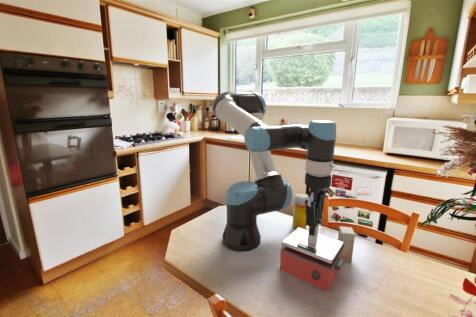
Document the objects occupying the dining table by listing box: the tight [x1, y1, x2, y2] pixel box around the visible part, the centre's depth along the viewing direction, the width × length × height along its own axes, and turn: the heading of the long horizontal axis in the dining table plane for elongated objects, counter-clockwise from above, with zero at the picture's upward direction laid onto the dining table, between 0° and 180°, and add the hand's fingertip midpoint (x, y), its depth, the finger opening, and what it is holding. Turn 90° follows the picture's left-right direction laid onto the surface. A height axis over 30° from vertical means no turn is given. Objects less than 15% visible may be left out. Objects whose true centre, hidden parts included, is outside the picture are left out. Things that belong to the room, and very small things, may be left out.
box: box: [337, 225, 356, 264], centre depth 87 cm, size 5×4×11 cm
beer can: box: [292, 192, 309, 230], centre depth 107 cm, size 6×6×15 cm
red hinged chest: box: [279, 244, 344, 293], centre depth 82 cm, size 19×15×8 cm
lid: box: [281, 227, 344, 264], centre depth 81 cm, size 16×14×2 cm
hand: (312, 242), depth 80 cm, fingers closed
